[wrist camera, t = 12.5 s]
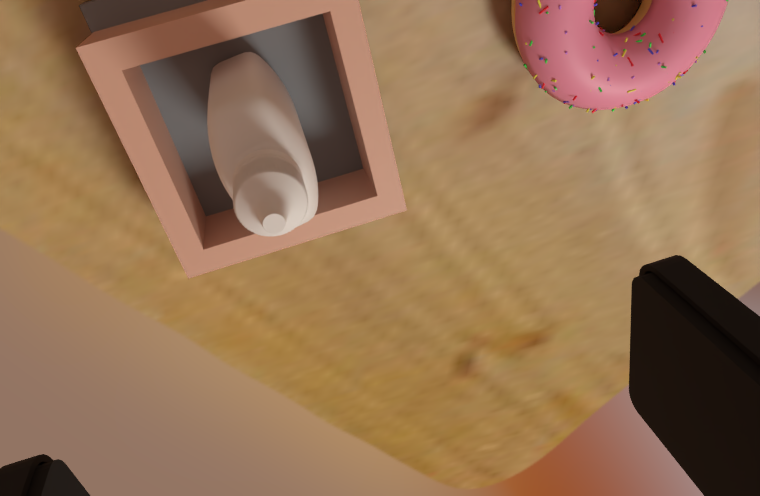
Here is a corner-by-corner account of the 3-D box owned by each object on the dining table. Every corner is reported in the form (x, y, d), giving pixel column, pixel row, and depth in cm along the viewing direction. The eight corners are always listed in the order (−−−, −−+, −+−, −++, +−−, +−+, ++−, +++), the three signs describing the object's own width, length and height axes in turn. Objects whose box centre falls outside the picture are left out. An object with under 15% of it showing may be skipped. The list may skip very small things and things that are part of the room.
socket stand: (83, 2, 25) (58, 18, 22) (329, -66, 26) (347, -62, 22) (199, 251, 32) (195, 297, 28) (391, 192, 33) (413, 228, 29)
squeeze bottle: (208, 163, 29) (196, 299, 19) (212, 44, 26) (201, 127, 16) (297, 170, 30) (333, 302, 20) (309, 56, 28) (357, 141, 17)
